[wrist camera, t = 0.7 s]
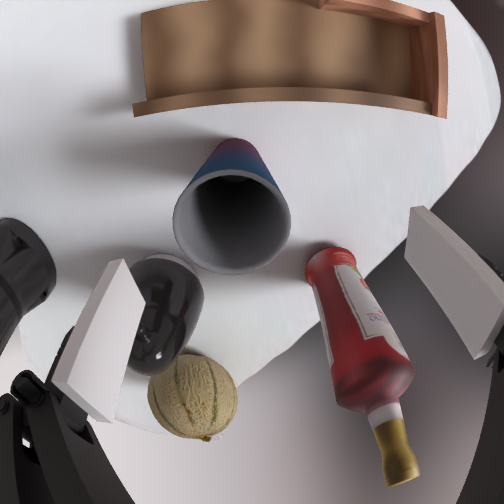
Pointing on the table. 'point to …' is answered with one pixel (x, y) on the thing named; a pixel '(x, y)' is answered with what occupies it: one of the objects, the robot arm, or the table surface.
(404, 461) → the liquor
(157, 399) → the cantaloupe
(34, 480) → the robot arm
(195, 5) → the board
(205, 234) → the cup
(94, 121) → the table surface
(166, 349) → the black egg-shaped device
